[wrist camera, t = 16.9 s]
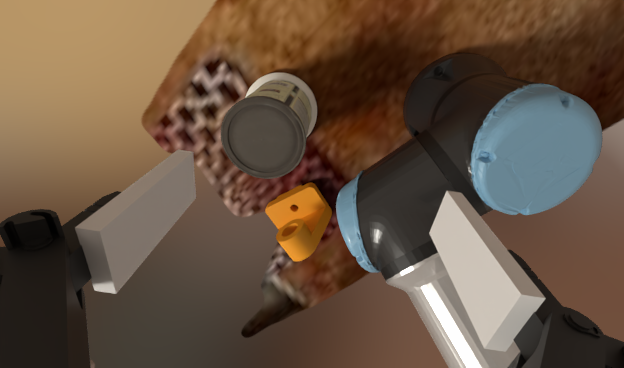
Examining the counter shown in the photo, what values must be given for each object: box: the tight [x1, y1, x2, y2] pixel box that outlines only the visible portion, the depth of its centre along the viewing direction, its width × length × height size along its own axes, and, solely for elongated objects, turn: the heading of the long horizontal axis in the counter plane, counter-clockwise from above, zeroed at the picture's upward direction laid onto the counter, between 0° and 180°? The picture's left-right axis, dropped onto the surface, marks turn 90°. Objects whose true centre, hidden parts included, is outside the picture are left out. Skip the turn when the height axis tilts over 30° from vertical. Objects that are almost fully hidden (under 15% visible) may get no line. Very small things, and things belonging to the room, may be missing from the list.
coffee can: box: [221, 79, 312, 179], centre depth 41 cm, size 10×10×14 cm
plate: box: [245, 72, 317, 137], centre depth 48 cm, size 12×12×1 cm
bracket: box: [265, 183, 332, 261], centre depth 51 cm, size 11×7×12 cm, turn 121°
